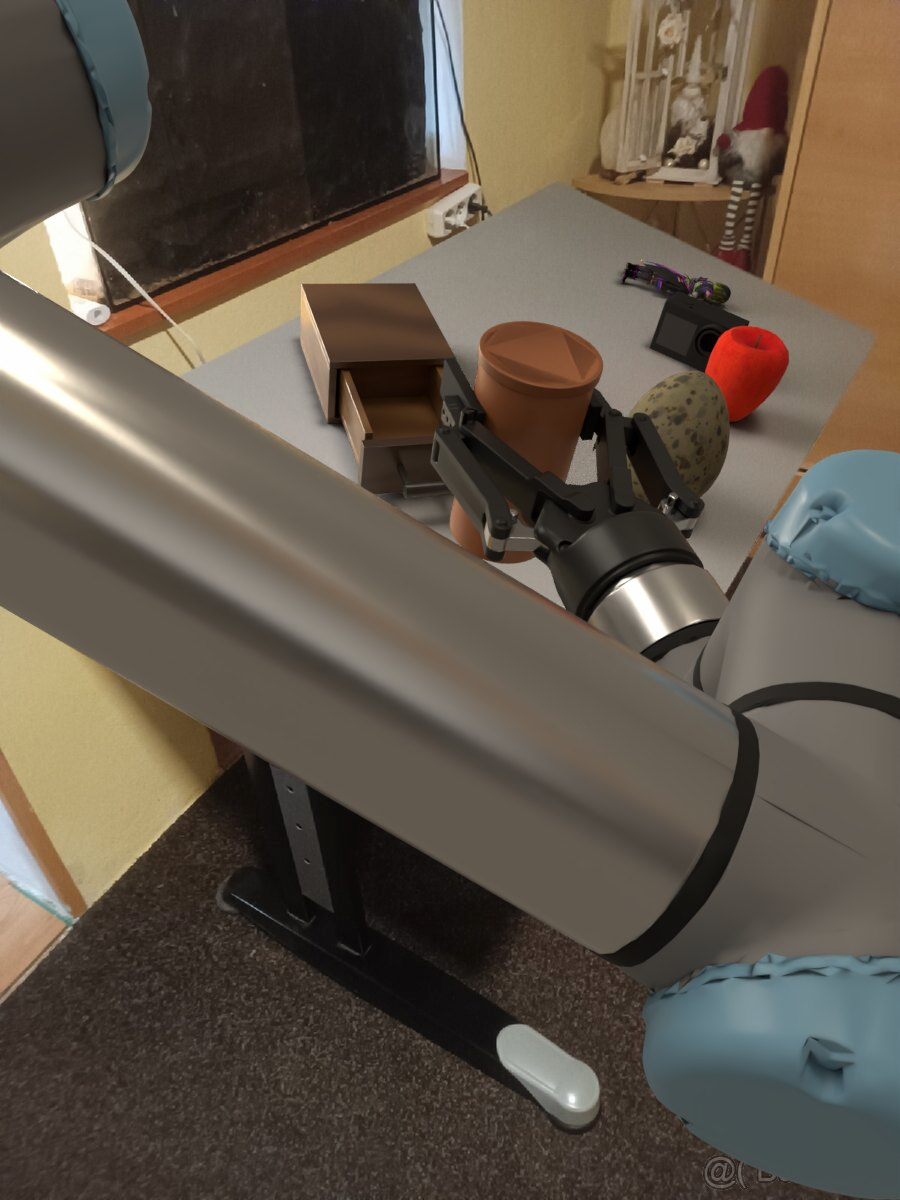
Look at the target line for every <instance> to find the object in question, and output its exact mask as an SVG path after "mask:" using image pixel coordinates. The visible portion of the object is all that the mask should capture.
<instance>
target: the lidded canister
mask: <svg viewBox="0 0 900 1200" xmlns="http://www.w3.org/2000/svg"><path fill="white" fill-rule="evenodd" d="M476 355H477V360H478V365H477V370H476V375H475V381H474V386H473V391H474V393H475V395H476V397H477V399H478V400H479V402H480V404H481V406H482V407H483V409H484V411H485V413H486V414H485V419H484V424H483V426H484V427H486V428H487V429H488V430H489V431H491V432H492V433H493V434H494V435H496V436H497V437H498V438H499V439H501V440H502V441H503V442H504V443H506V444H507V445H508V446H509V447H511V448H512V449H513V450H514V451H516V452H517V453H518V454H519V455H521V456H522V457H523V458H524V459H526V460H527V461H528V462H529V463H531V464H532V465H533V466H534V467H536V468H537V469H538V470H539V471H541V472H542V473H544V472H546V471H550V472H552V473H553V474H555V475H556V476H557V477H558V478H560V479H561V480H562V481H563V482H565V483H567V479H568V476H569V472H570V469H571V465H572V462H573V459H574V455H575V452H576V450H577V446H578V442H579V439H580V433H581V430H582V426H583V423H584V420H585V416H586V413H587V410H588V406H589V403H590V400H591V397H592V393H593V390H594V388H596V387H597V386H598V384H599V383H600V381H601V378H602V375H603V371H604V360H603V357H602V355H601V354H600V352H599V351H598V349H597V348H596V347H595V346H594V345H593V344H592V343H591V342H589V341H588V340H587V339H585V338H583V337H582V336H581V335H579V334H577V333H576V332H573V331H571V330H568V329H566V328H564V327H561V326H558V325H554V324H551V323H545V322H540V321H532V320H531V321H529V320H514V321H513V320H512V321H506V322H501V323H499V324H496V325H494V326H492V327H490V328H488V329H487V330H486V331H485V332H483V334H482V335H481V336H480V338H479V342H478V347H477V353H476ZM505 499H506V498H505ZM506 501H507V503H508V506H509V509H512V508H513V509H516V510H517V511H518V518H519V519H520V520H521V522H522V523H523V524H524V525H526V526H527V527H530V526H529V525H527V524H526V523H525V522H524V521H523V519H522V516H521V512H520V510H519V509H518V508H516V507H515V506H514V505H513V504H512V503H510V502H509V501H508V500H507V499H506ZM449 529H450V533H451V535H452V537H453V539H455V541H456V543H457V544H458V545H459V546H461V547H463V548H464V549H466V550H468V551H469V552H471V553H473V554H474V555H476V556H478V557H479V558H481V559H483V560H484V561H486V562H491V563H495V564H502V565H503V564H504V565H513V564H514V565H515V564H521V563H525V562H528V561H531V560H533V559H534V558H536V557H535V556H534V555H533V553H532V551H510V550H506V553H505V557H504V558H503V560H501V561H491V560H489V559H487V558H486V557H485V555H484V551H483V545H482V540H481V535H480V533H479V531H478V530H477V528H476V527H475V526H474V524H473V523H472V521H471V520H470V518H469V517H468V516H467V514H466V513H465V511H464V510H463V508H462V507H461V506H460V504H459V503H458V501H457V500H456V498H455V497H454V496H453V500H452V506H451V511H450V518H449Z"/></svg>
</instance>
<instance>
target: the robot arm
mask: <svg viewBox="0 0 900 1200" xmlns="http://www.w3.org/2000/svg"><path fill="white" fill-rule="evenodd" d="M147 60H148V59H147V56H146V52H145V48H144V45H143V41H142V38H141V35H140V31H139V28H138V25H137V22H136V19H135V17H134V15H133V12H132V10H131V8H130V5H129V3H128V1H127V0H0V250H1V249H3V248H4V247H5V246H6V245H7V246H8V244H10V243H11V242H12V241H15V240H16V239H17V238H19V237H20V236H22V235H24V233H26V232H28V231H29V230H32V229H33V228H35V227H36V226H37V225H39V224H41V223H42V222H45V221H46V220H48V219H50V218H51V217H54V216H55V215H57V214H59V213H61V212H63V211H64V210H67V209H69V208H71V207H73V206H75V205H77V204H79V203H81V202H84V201H86V202H88V203H89V202H90V203H92V202H94V201H98V200H101V199H103V198H105V197H106V196H107V195H109V193H110V192H111V191H112V190H113V187H114V186H115V185H116V184H119V183H121V182H122V181H124V180H125V179H127V177H129V176H130V175H131V174H132V172H133V171H135V169H136V167H137V166H138V164H139V163H140V161H141V159H142V158H143V156H144V153H145V150H146V148H147V145H148V143H149V139H150V133H151V128H152V127H151V126H152V118H153V117H152V113H153V106H152V103H151V102H150V99H149V93H148V92H149V91H148V83H149V79H150V71H149V66H148V61H147ZM440 394H441V396H442V398H443V400H444V402H443V408H442V415H441V419H442V421H443V423H444V425H440V426H437V427H436V429H435V435H434V441H433V447H432V454H431V461H430V462H431V464H432V465H433V467H434V468H435V470H436V471H437V473H438V474H439V475H440V477H441V478H442V480H443V481H444V483H445V484H446V485H447V487H448V488H449V490H450V491H451V493H452V494H451V495H453V498H454V497H455V498H456V500H457V501H458V503H459V504H460V506H461V507H462V508H463V510H464V511H465V513H466V514H467V516H468V517H469V518H470V520H471V521H472V523H473V524H474V526H475V527H476V528H477V530H478V531H479V533H480V535H481V540H482V545H483V551H484V555H485V557H486V558H487V559H489V560H491V561H501V560H503V558H504V557H505V553H506V550H510V551H532V553H533V555H534V556H535V557H534V558H535V559H537V560H538V561H540V562H542V563H543V564H544V565H545V566H546V567H547V568H548V570H549V572H550V573H551V576H552V580H553V584H554V587H555V590H556V593H557V594H558V597H559V599H560V600H561V603H562V605H563V606H564V607H562V606H561V605H559V604H557V603H556V602H554V601H552V600H551V599H550V598H547V597H546V596H544V595H542V594H541V593H539V592H538V591H536V590H535V589H532V588H531V587H529V586H528V585H526V584H524V583H523V582H521V581H519V579H516V578H515V577H513V576H511V575H509V574H508V573H506V572H505V571H503V570H502V569H499V568H498V567H496V566H494V565H493V564H491V563H489V561H486V560H484V559H481V558H479V557H478V556H476V555H474V554H473V553H471V552H469V551H468V550H466V549H464V548H463V547H461V546H460V545H459V544H458V543H457V542H454V541H453V540H451V539H450V538H448V537H446V536H445V535H443V534H441V533H440V532H438V531H436V530H435V529H433V528H431V527H430V526H428V525H426V524H425V523H423V522H421V521H420V520H418V519H417V518H414V517H413V516H411V515H409V514H408V513H406V512H404V511H403V510H401V509H399V508H398V507H397V506H394V505H393V504H391V503H390V502H388V501H386V499H385V500H384V499H383V498H381V497H379V496H378V495H375V494H373V493H371V492H370V491H368V490H366V489H365V488H363V487H361V486H360V485H358V483H356V482H355V481H353V480H352V479H350V478H348V477H346V476H344V475H343V474H341V473H340V472H339V471H336V470H334V469H333V468H332V467H330V466H329V465H326V464H325V463H323V462H321V461H320V460H318V459H316V458H315V457H313V456H311V455H310V454H308V453H306V452H305V451H303V450H302V449H300V448H298V447H296V446H295V445H294V444H292V443H289V442H288V441H286V440H285V439H283V438H282V437H280V436H278V435H276V434H275V433H273V432H272V431H270V430H268V429H267V428H266V427H263V426H261V425H260V424H258V423H257V422H254V421H253V420H251V419H250V418H248V417H247V416H245V415H243V414H242V413H240V412H238V411H237V410H235V409H233V408H231V407H230V406H228V405H226V404H225V403H223V402H221V401H220V400H218V399H216V398H215V397H213V396H211V395H210V394H208V393H206V392H205V391H203V390H201V389H200V388H198V387H197V386H195V385H193V383H192V384H191V383H190V382H188V381H186V380H184V379H183V378H182V377H180V376H178V375H176V374H175V373H173V372H172V371H170V370H168V369H166V368H165V367H164V366H162V365H160V364H158V363H157V362H155V361H154V360H151V359H150V358H149V357H146V356H145V355H143V354H141V353H140V352H139V351H137V350H135V349H134V348H132V347H130V346H129V345H127V344H125V343H123V342H121V341H120V340H118V339H117V338H115V337H113V336H112V335H110V334H109V333H106V332H105V331H103V330H102V329H100V328H98V327H97V326H95V325H93V324H92V323H90V322H89V321H88V320H85V319H84V318H82V317H80V316H79V315H77V314H75V313H74V312H71V311H70V310H69V309H67V308H65V307H64V306H62V305H61V304H58V303H57V302H55V301H53V300H52V299H50V298H48V297H47V296H45V295H43V294H42V293H40V292H39V291H37V290H35V289H33V288H32V287H30V286H29V285H27V284H25V283H23V282H22V281H20V280H18V279H17V278H15V277H13V276H12V275H10V274H8V273H7V272H5V271H4V270H2V269H0V607H1V608H3V609H4V610H6V611H8V612H10V613H11V614H13V615H15V616H17V617H18V618H20V619H22V620H23V621H24V622H27V623H29V624H30V625H32V626H33V627H35V628H37V629H38V630H40V631H42V632H44V633H46V635H47V634H48V635H49V636H51V637H52V638H54V639H56V640H58V641H59V642H61V643H63V644H64V645H66V646H67V647H70V648H71V649H73V650H75V651H77V652H78V653H79V654H82V655H83V656H85V657H87V658H88V659H90V660H92V661H94V662H95V663H97V664H98V665H101V666H102V667H104V668H105V669H107V670H109V671H111V672H113V673H114V674H116V675H117V676H119V677H121V678H122V679H125V680H126V681H128V682H129V683H131V684H133V685H135V686H136V687H138V688H140V689H141V690H143V691H145V692H147V693H149V694H150V695H152V696H154V697H156V698H157V699H159V700H160V701H162V702H163V703H166V704H168V705H169V706H170V707H173V709H176V710H178V711H179V712H181V713H183V714H185V715H186V716H188V717H190V718H191V719H193V720H195V721H197V722H198V723H200V724H201V725H203V726H205V727H207V728H209V729H210V730H212V731H214V732H215V733H217V734H219V735H220V736H222V737H224V738H226V739H228V740H229V741H231V742H232V743H235V744H236V745H238V746H239V747H241V748H243V749H245V750H246V751H248V752H250V753H251V754H252V755H254V756H257V757H259V758H260V759H262V760H263V761H265V762H267V763H268V764H270V765H272V766H273V767H275V768H277V769H279V770H281V771H282V772H283V773H286V774H288V775H289V776H291V777H292V778H294V779H296V780H298V781H299V782H301V783H303V784H305V785H306V786H308V787H310V788H311V789H313V790H315V791H316V792H318V793H320V794H322V795H323V796H325V797H327V798H328V799H330V800H332V801H334V802H335V803H337V804H339V805H341V806H343V807H344V808H346V809H347V810H349V811H351V812H352V813H354V814H356V815H358V816H359V817H361V818H363V819H365V820H366V821H368V822H369V823H371V824H373V825H375V826H377V827H379V828H381V830H384V831H385V832H387V833H388V834H390V835H392V836H393V837H395V838H397V839H399V840H401V841H402V842H404V843H406V844H407V845H409V846H411V847H413V848H414V849H416V850H418V851H420V852H421V853H423V854H425V855H426V856H428V857H430V858H432V859H433V860H435V861H437V862H439V863H440V864H442V865H444V866H445V867H447V868H449V869H450V870H452V871H454V872H456V873H457V874H459V875H461V876H462V877H464V878H465V879H467V880H469V881H471V882H473V883H475V884H476V885H477V886H480V887H481V888H483V889H485V890H487V891H488V892H490V893H492V894H493V895H495V896H497V897H498V898H500V899H502V900H504V901H505V902H507V903H509V904H511V905H512V906H514V907H515V908H517V909H519V910H521V911H523V912H525V914H528V915H529V916H530V917H532V918H535V919H536V920H538V921H540V922H541V923H543V924H545V925H547V926H548V927H550V928H552V929H553V930H555V931H556V932H558V933H560V934H562V935H564V936H565V937H567V938H569V939H571V940H573V941H574V942H576V943H578V944H579V945H581V946H583V947H584V948H586V949H587V950H588V951H590V952H591V953H592V954H594V955H595V956H598V957H599V958H601V959H602V960H604V961H606V962H608V963H609V964H612V965H613V966H614V967H616V968H617V969H619V970H620V971H621V972H623V973H624V974H625V975H627V976H628V977H630V978H632V979H633V980H635V981H636V982H638V983H639V984H641V985H642V986H644V987H645V988H646V989H648V990H649V991H648V997H647V999H646V1002H645V1003H644V1006H643V1009H642V1011H641V1017H642V1018H643V1021H644V1023H645V1033H644V1041H643V1048H642V1067H643V1070H644V1074H645V1079H646V1081H647V1085H648V1086H649V1088H650V1090H651V1091H652V1093H653V1095H654V1096H655V1098H656V1100H657V1101H658V1102H660V1103H661V1104H662V1105H663V1106H664V1107H665V1108H666V1109H667V1110H669V1112H671V1113H673V1114H675V1115H677V1117H678V1119H679V1120H680V1121H681V1123H682V1124H683V1125H684V1126H685V1127H686V1129H687V1130H688V1132H689V1133H691V1134H692V1135H695V1137H697V1138H698V1139H700V1140H701V1141H703V1142H705V1143H706V1144H708V1145H709V1146H711V1147H713V1148H714V1149H716V1150H717V1151H720V1152H721V1153H723V1154H725V1155H727V1156H729V1157H730V1158H733V1159H735V1160H737V1161H740V1162H741V1163H743V1164H745V1165H747V1166H750V1167H753V1168H754V1169H757V1170H759V1171H760V1172H761V1171H762V1172H764V1173H767V1174H769V1175H772V1176H774V1177H777V1178H780V1179H783V1180H786V1181H788V1182H791V1183H795V1184H798V1185H801V1186H805V1187H808V1188H810V1189H811V1188H812V1189H816V1190H819V1191H823V1192H827V1193H832V1194H837V1195H841V1196H846V1197H851V1198H852V1197H853V1198H857V1199H867V1200H900V452H895V451H892V450H891V451H889V450H885V449H867V448H866V449H865V448H864V449H852V450H846V451H842V452H841V451H840V452H838V453H834V454H831V455H828V456H826V457H824V458H822V459H820V460H819V461H817V462H815V463H814V464H813V465H812V466H810V467H809V468H808V469H807V470H806V471H805V472H804V474H803V475H802V476H801V478H800V479H799V481H798V482H797V484H796V486H795V487H794V489H793V490H792V492H791V493H790V495H789V496H788V497H787V499H786V500H785V502H784V503H783V505H782V506H781V507H780V509H779V510H778V512H777V513H776V515H775V516H774V518H772V519H769V520H768V521H767V522H766V524H765V526H764V527H763V534H765V535H764V536H763V538H762V540H761V542H760V544H759V546H758V548H757V549H756V551H755V554H754V556H753V558H752V559H751V561H750V563H749V565H748V566H747V568H746V570H745V571H744V572H745V573H744V574H743V576H742V578H741V580H740V582H739V583H738V585H737V586H736V589H735V591H734V593H733V595H732V597H731V598H730V599H729V598H728V597H727V596H726V594H725V593H724V591H723V590H722V588H721V586H720V585H719V583H718V582H717V580H716V579H715V578H714V576H713V575H712V574H711V572H710V571H709V570H708V569H706V568H705V565H704V564H703V562H702V560H701V559H700V557H699V556H698V554H697V552H696V551H695V550H694V549H693V547H692V545H691V544H690V542H689V541H688V539H690V538H691V536H692V534H693V532H694V530H695V528H696V527H697V524H698V521H699V519H700V517H701V514H702V513H703V511H704V509H705V506H706V504H705V501H704V500H703V499H702V498H701V497H700V498H699V497H698V496H697V495H696V494H695V493H694V492H693V491H692V490H691V489H690V488H689V487H688V486H687V485H686V484H685V483H684V481H683V479H682V477H681V475H680V473H679V471H678V470H677V468H676V466H675V464H674V462H673V460H672V458H671V456H670V454H669V452H668V450H667V449H666V447H665V445H664V443H663V441H662V439H661V437H660V435H659V433H658V431H657V429H656V428H655V426H654V424H653V422H652V420H651V418H650V417H649V416H648V415H647V414H645V413H640V412H638V413H634V415H633V417H632V418H630V417H627V416H624V415H623V412H622V411H620V410H618V409H617V408H612V406H611V405H610V403H609V402H608V400H607V399H606V398H605V396H604V395H603V394H602V392H601V391H600V390H598V389H597V388H596V387H595V388H594V390H593V393H592V397H591V400H590V403H589V406H588V410H587V413H586V416H585V420H584V423H583V426H582V430H581V433H580V436H579V439H581V441H593V438H594V435H595V436H596V438H595V441H594V444H593V447H592V450H591V451H592V452H595V462H596V480H597V481H591V482H589V483H586V484H572V483H568V484H567V482H563V481H562V480H561V479H560V478H558V477H557V476H556V475H555V474H553V473H552V472H550V471H546V472H544V473H542V472H541V471H539V470H538V469H537V468H536V467H534V466H533V465H532V464H531V463H529V462H528V461H527V460H526V459H524V458H523V457H522V456H521V455H519V454H518V453H517V452H516V451H514V450H513V449H512V448H511V447H509V446H508V445H507V444H506V443H504V442H503V441H502V440H501V439H499V438H498V437H497V436H496V435H494V434H493V433H492V432H491V431H489V430H488V429H487V428H486V427H484V426H483V424H484V419H485V414H486V413H485V411H484V409H483V407H482V406H481V404H480V402H479V400H478V399H477V397H476V395H475V393H474V388H472V385H471V384H470V382H469V380H468V379H467V377H466V374H465V373H464V371H463V370H462V367H461V366H460V364H459V361H458V360H457V357H456V358H445V361H444V368H443V374H442V381H441V388H440ZM626 454H627V456H628V459H629V461H630V463H631V465H632V467H633V469H634V471H635V474H636V476H637V478H638V480H639V482H640V484H641V486H642V488H643V491H644V493H645V495H646V497H647V499H648V501H649V503H650V505H649V504H648V503H646V502H644V501H642V500H640V499H638V498H637V497H635V492H633V486H632V476H631V469H628V466H627V456H626ZM505 498H506V499H507V500H508V501H509V502H510V503H512V504H513V505H514V506H515V507H516V508H518V509H519V510H520V512H521V516H522V519H523V521H524V522H525V523H526V524H527V525H529V526H530V527H527V526H526V525H524V524H523V523H522V522H521V520H520V519H519V518H518V511H517V510H516V509H513V508H512V509H509V506H508V503H507V501H506V499H505Z"/></svg>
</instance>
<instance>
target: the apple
mask: <svg viewBox="0 0 900 1200" xmlns="http://www.w3.org/2000/svg"><path fill="white" fill-rule="evenodd" d="M789 364H790V352H789V350H788V348H787V346H786V345H785V343H784V341H783V340H782V339H781V337H779V336H778V335H777V334H775V333H774V332H772V331H770V330H769V329H765V328H762V327H758V326H751V325H748V326H739V327H734V328H732V329H730V330H728V331H726V332H724V333H723V334H722V335H721V336H720V338H719V339H718V341H717V343H716V345H715V347H714V349H713V351H712V353H711V355H710V358H709V361H708V364H707V368H706V371H705V374H707V375H709V376H710V377H711V378H712V379H713V380H714V381H715V382H716V383H717V385H718V386H719V388H720V390H721V392H722V393H723V395H724V398H725V401H726V405H727V409H728V415H729V423H731V422H733V423H734V422H739V421H740V420H741V421H742V420H743V419H744V418H746V417H747V416H748V415H750V414H751V413H753V412H754V411H755V410H757V409H758V408H759V407H760V406H761V405H762V404H763V403H764V402H765V401H766V400H767V399H768V398H769V397H770V396H771V395H772V393H773V392H774V391H775V389H776V388H777V387H778V386H779V384H780V383H781V380H782V379H783V377H784V375H785V373H786V372H787V369H788V366H789Z"/></svg>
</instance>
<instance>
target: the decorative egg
mask: <svg viewBox="0 0 900 1200" xmlns="http://www.w3.org/2000/svg"><path fill="white" fill-rule="evenodd" d="M638 412H640V413H645V414H647V415H648V416H649V417H650V418H651V420H652V422H653V424H654V426H655V428H656V429H657V431H658V433H659V435H660V437H661V439H662V441H663V443H664V445H665V447H666V449H667V450H668V452H669V454H670V456H671V458H672V460H673V462H674V464H675V466H676V468H677V470H678V471H679V473H680V475H681V477H682V479H683V481H684V483H685V484H686V485H687V486H688V487H689V488H690V489H691V490H692V491H693V492H694V493H695V494H696V495H697V496H698V497H699V498H700V499H701V497H702V496H704V494H706V493H707V492H708V491H709V490H710V488H711V487H712V486H713V485H714V483H715V482H716V480H718V478H719V475H720V474H721V471H722V469H723V467H724V464H725V462H726V459H727V455H728V450H729V445H730V436H731V433H730V431H731V428H730V427H731V426H730V424H731V423H730V422H729V415H728V409H727V405H726V401H725V398H724V395H723V393H722V392H721V390H720V388H719V386H718V385H717V383H716V382H715V381H714V380H713V379H712V378H711V377H710V376H709V375H707V374H705V373H704V372H701V371H699V370H686V371H681V372H677V373H675V374H673V375H671V376H668V377H667V378H665V379H663V380H660V382H658V383H656V384H655V385H653V387H651V388H650V389H649V390H648V391H647V392H646V393H645V394H644V395H643V396H642V397H641V398H639V400H638V401H637V402H636V403H635V405H634V406H633V407H632V409H631V410H630V411H629V413H628V414H627V416H626V417H630V418H632V417H633V415H634V413H638ZM626 456H627V454H626ZM627 466H628V469H631V476H632V486H633V492H635V497H637V498H638V499H640V500H642V501H644V502H646V503H648V504H649V505H650V503H649V501H648V499H647V497H646V495H645V493H644V491H643V488H642V486H641V484H640V482H639V480H638V478H637V476H636V474H635V471H634V469H633V467H632V465H631V463H630V461H629V459H628V456H627Z"/></svg>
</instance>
